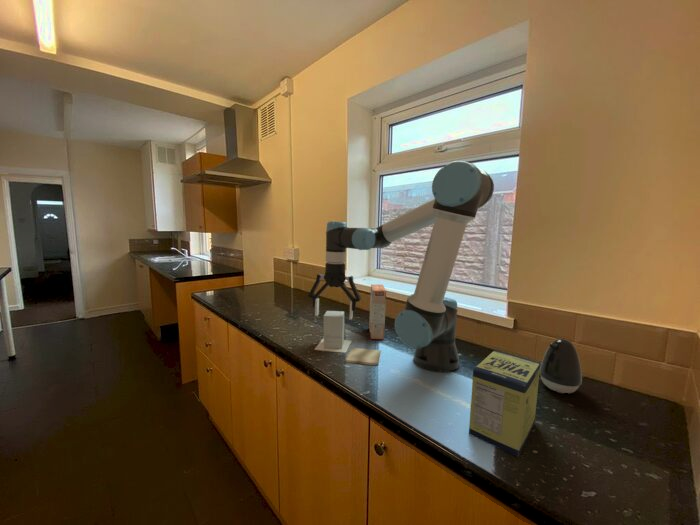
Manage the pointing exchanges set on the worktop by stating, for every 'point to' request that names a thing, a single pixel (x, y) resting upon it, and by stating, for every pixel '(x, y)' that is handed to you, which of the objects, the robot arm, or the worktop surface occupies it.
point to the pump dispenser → (561, 367)
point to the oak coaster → (364, 356)
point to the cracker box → (377, 311)
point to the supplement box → (333, 329)
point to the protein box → (504, 400)
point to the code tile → (342, 350)
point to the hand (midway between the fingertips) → (333, 317)
